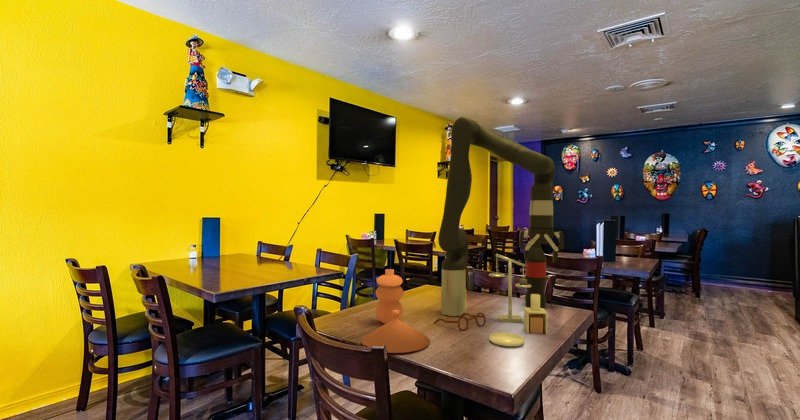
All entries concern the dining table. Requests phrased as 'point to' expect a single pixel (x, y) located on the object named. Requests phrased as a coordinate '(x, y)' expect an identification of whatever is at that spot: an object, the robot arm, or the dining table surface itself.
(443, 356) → the dining table surface
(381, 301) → the ceramic vessels
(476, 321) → the glasses
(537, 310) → the hood
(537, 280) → the cola bottle
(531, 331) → the block
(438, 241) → the robot arm
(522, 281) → the balance
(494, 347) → the dining table surface
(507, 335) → the dish
